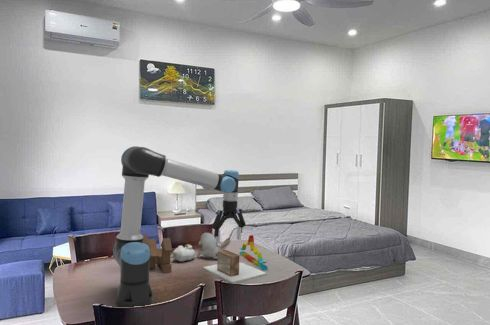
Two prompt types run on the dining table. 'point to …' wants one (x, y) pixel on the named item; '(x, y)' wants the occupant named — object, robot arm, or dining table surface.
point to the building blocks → (159, 253)
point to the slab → (228, 263)
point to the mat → (244, 273)
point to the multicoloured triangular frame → (256, 262)
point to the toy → (211, 245)
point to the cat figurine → (183, 253)
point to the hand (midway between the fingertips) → (228, 241)
